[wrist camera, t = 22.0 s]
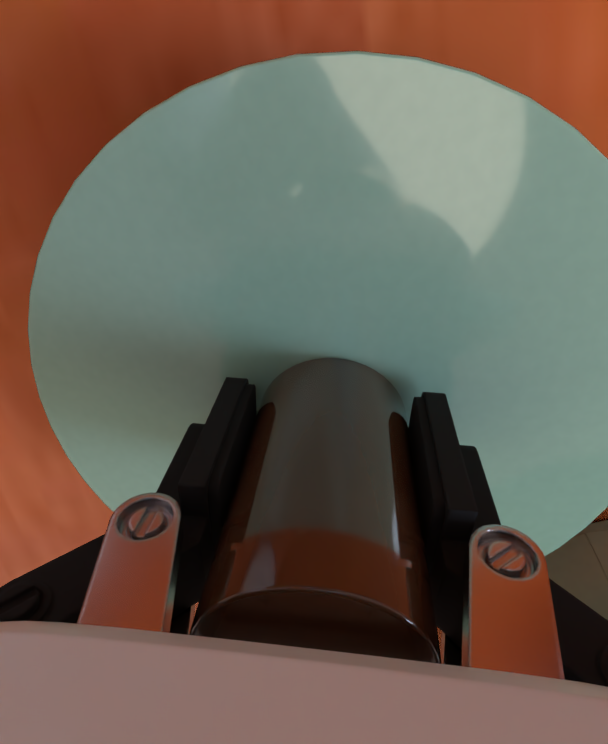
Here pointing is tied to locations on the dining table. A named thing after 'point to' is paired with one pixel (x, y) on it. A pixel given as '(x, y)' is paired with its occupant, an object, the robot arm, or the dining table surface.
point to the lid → (334, 325)
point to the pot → (584, 566)
